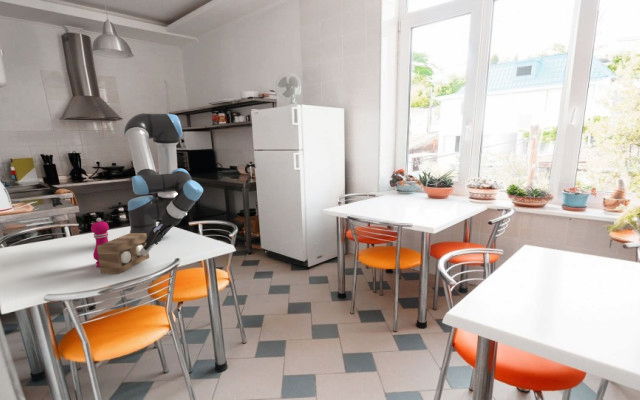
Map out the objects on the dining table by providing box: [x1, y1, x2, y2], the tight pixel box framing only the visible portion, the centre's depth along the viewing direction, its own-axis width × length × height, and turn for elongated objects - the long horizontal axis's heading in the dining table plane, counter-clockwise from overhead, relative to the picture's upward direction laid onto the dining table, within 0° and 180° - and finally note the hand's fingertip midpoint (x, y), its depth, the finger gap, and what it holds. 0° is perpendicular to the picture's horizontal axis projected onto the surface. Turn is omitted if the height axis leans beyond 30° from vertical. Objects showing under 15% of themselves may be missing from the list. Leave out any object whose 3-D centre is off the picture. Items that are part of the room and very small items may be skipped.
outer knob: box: [120, 251, 131, 263], centre depth 128 cm, size 5×8×5 cm, turn 84°
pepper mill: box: [90, 217, 110, 268], centre depth 133 cm, size 7×7×20 cm
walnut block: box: [97, 232, 150, 275], centre depth 133 cm, size 18×8×11 cm, turn 174°
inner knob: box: [136, 245, 143, 255], centre depth 137 cm, size 5×8×5 cm, turn 84°
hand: (142, 253), depth 137 cm, fingers closed
